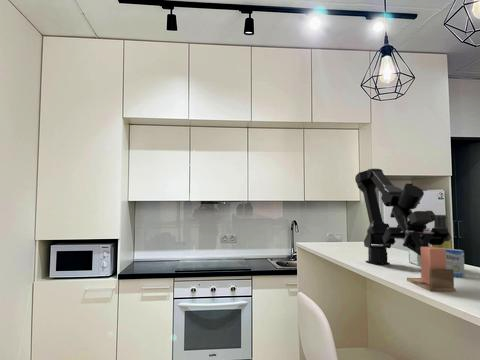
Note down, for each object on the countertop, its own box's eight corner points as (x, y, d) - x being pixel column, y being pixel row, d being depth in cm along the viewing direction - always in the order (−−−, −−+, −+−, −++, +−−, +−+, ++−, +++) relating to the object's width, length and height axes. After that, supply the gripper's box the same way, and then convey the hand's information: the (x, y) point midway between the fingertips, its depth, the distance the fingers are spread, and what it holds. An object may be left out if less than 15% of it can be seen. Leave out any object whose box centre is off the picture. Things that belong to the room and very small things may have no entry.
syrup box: (432, 265, 119) (431, 228, 120) (418, 265, 118) (417, 227, 119) (421, 262, 125) (420, 226, 126) (408, 263, 124) (407, 226, 125)
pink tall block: (421, 281, 90) (420, 246, 91) (436, 281, 90) (435, 246, 91) (430, 285, 85) (429, 248, 86) (446, 285, 86) (445, 249, 86)
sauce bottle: (457, 271, 109) (455, 215, 110) (439, 271, 109) (437, 215, 110) (445, 267, 115) (443, 214, 117) (428, 267, 116) (427, 214, 117)
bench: (406, 280, 95) (406, 261, 95) (429, 280, 95) (429, 261, 96) (430, 291, 84) (429, 269, 84) (456, 291, 84) (455, 269, 84)
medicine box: (434, 273, 105) (433, 248, 106) (437, 271, 108) (436, 247, 109) (462, 278, 100) (462, 251, 100) (464, 275, 103) (464, 249, 104)
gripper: (386, 201, 97) (406, 241, 85) (444, 202, 97) (472, 242, 85) (375, 224, 104) (392, 264, 92) (429, 225, 105) (453, 265, 93)
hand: (427, 258), depth 91 cm, fingers closed
